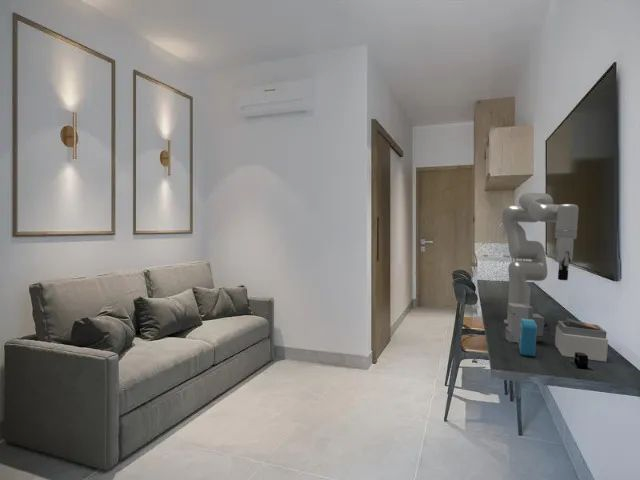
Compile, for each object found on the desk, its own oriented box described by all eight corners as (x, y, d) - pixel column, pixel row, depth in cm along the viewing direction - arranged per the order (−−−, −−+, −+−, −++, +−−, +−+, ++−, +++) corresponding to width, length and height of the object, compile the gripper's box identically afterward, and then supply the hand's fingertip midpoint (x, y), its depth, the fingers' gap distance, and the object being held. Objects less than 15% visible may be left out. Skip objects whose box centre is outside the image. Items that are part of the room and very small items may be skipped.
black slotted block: (563, 360, 153) (564, 347, 152) (585, 362, 151) (586, 350, 151) (575, 371, 141) (576, 358, 140) (600, 374, 139) (601, 360, 139)
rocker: (564, 321, 166) (566, 317, 165) (593, 329, 162) (594, 325, 162) (568, 325, 159) (569, 320, 159) (598, 333, 156) (599, 329, 156)
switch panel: (554, 344, 171) (556, 319, 171) (594, 349, 166) (596, 323, 166) (562, 355, 156) (564, 328, 156) (606, 361, 151) (608, 333, 151)
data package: (518, 347, 165) (520, 317, 164) (531, 349, 163) (533, 319, 162) (521, 356, 153) (523, 323, 153) (534, 358, 152) (537, 325, 151)
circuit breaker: (546, 345, 169) (549, 309, 169) (509, 342, 172) (511, 306, 171) (541, 340, 177) (543, 305, 176) (505, 337, 179) (507, 302, 179)
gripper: (552, 234, 176) (549, 277, 177) (558, 234, 162) (555, 281, 163) (572, 235, 174) (569, 278, 174) (581, 235, 160) (577, 283, 160)
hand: (562, 279), depth 169 cm, fingers closed
